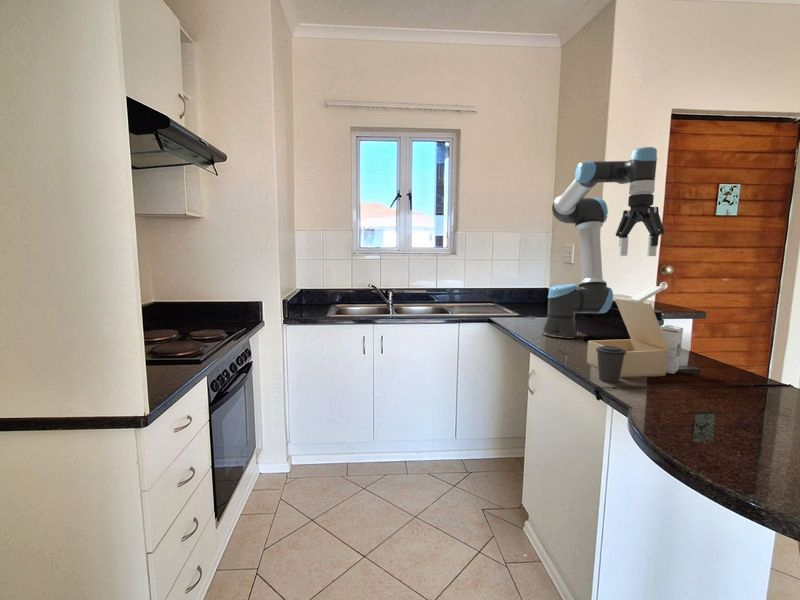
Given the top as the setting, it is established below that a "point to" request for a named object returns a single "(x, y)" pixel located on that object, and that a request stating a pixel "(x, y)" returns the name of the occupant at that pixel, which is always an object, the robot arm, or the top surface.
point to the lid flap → (642, 318)
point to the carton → (633, 357)
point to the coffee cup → (610, 363)
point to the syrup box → (672, 346)
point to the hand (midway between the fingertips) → (636, 255)
